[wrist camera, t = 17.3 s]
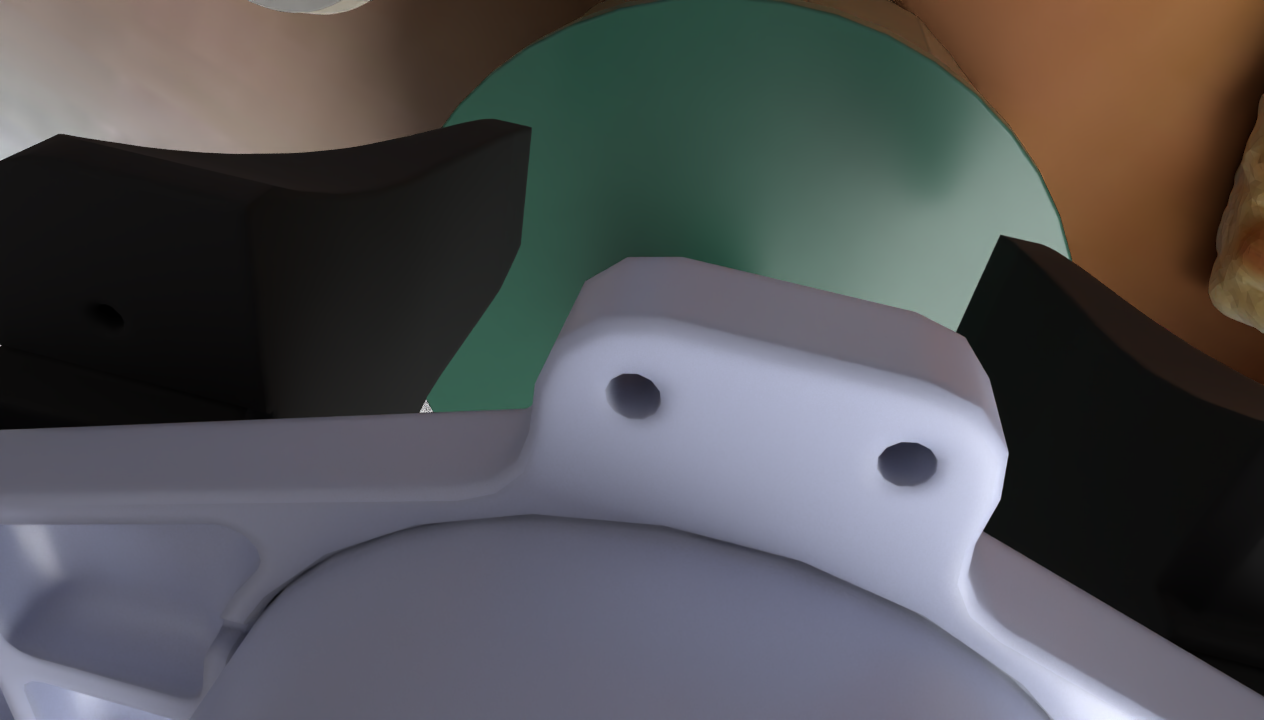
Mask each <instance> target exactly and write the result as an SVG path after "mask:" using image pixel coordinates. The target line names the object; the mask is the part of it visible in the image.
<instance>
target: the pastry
mask: <svg viewBox="0 0 1264 720" xmlns="http://www.w3.org/2000/svg"><path fill="white" fill-rule="evenodd" d="M1234 179H1235V184H1234V187H1233V189H1232V192H1231V194H1230V197H1229V202H1228V205H1227V207H1226V208H1225V210H1224V213H1223V216H1222V220H1221V223H1220V226H1219V228H1218V232H1217V237H1216V249H1217V252H1218V256H1217V259H1216V261H1215V263H1214V265H1213V269H1212V273H1211V277H1210V280H1209V288H1208V293H1209V296H1210V299H1211V301H1212V304H1213V305H1214V306H1215V307H1216V308H1217V309H1218V310H1219V311H1220V312H1221V313H1222V314H1223V315H1225V316H1227V317H1230V318H1232V319H1234V320H1237V321H1239V322H1242V323H1244V324H1247V325H1249V326H1252V327H1254V328H1256V329H1258V330H1259V331H1260V332H1262V333H1264V94H1263V95H1262V97H1261V98H1260V101H1259V105H1258V119H1257V122H1256V125H1255V127H1254V129H1253V131H1252V133H1251V135H1250V137H1249V139H1248V141H1247V144H1246V149H1245V152H1244V154H1243V159H1242V161H1241V163H1240V165H1239V167H1238V169H1237V171H1236V174H1235V177H1234Z"/></svg>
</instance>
